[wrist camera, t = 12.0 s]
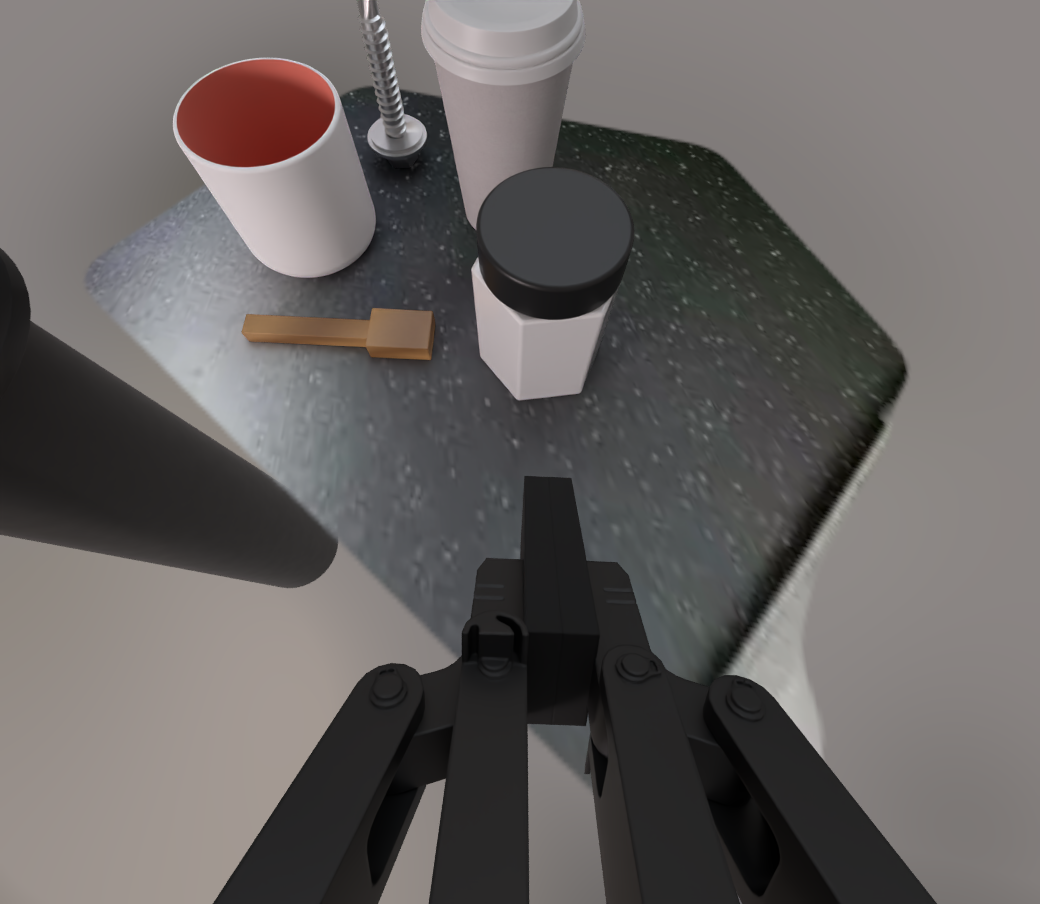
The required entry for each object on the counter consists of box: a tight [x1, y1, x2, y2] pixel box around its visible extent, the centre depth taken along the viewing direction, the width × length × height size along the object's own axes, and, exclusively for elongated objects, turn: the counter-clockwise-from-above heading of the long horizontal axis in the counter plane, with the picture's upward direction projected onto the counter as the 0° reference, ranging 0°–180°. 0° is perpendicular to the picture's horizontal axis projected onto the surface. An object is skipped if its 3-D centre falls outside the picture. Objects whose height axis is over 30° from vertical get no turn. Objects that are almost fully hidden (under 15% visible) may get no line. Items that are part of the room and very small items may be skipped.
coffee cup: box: [421, 0, 585, 229], centre depth 34 cm, size 10×10×15 cm
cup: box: [173, 58, 376, 278], centre depth 34 cm, size 10×10×10 cm
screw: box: [357, 0, 427, 168], centre depth 36 cm, size 13×5×5 cm
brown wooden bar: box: [242, 308, 435, 360], centre depth 35 cm, size 13×3×2 cm, turn 88°
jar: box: [471, 167, 634, 400], centre depth 30 cm, size 9×8×12 cm
